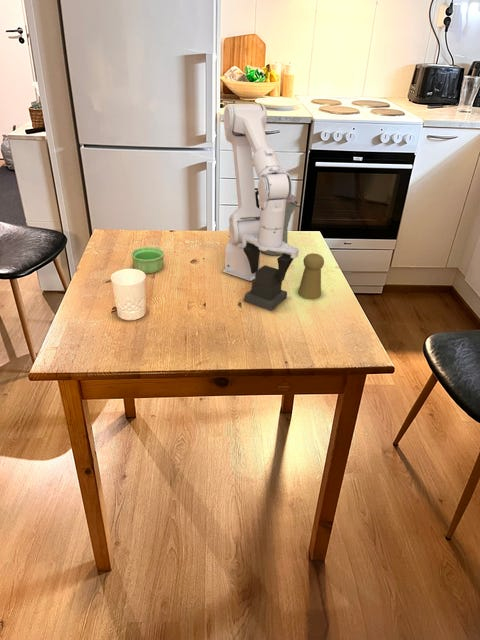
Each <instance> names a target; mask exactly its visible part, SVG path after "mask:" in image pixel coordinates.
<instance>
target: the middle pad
mask: <svg viewBox="0 0 480 640" xmlns="http://www.w3.org/2000/svg"><path fill="white" fill-rule="evenodd" d="M282 286H283V281H282V282H278V283H276V284H275V285H274V286H273V287H271V288H269V287H266V286H263V285H260V284H257V283H255V280H253V282H251V290H252V291H251V294H252V295H255V296H258V297H261V298H264V299H267V300H270V301H271V300H272V299H273V298H274V297H275V296H277V295H278V294H279V293H280V292H281V290H282V288H283V287H282Z"/></svg>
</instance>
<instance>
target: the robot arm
mask: <svg viewBox="0 0 480 640" xmlns="http://www.w3.org/2000/svg"><path fill="white" fill-rule="evenodd" d="M267 122H268V112H267V108H266V106H265V105H264V103H252V104H251V103H249V104H248V103H247V104H246V103H245V104H243V103H242V104H239V103H238V104H237V103H236V104H234V103H233V104H231V103H228V104H226V106H225V108H224V111H223V129H224V136H225V140H226V141H227V142H228V143H230V144H231V147H232V152H233V163H234V173H235V174H234V175H235V176H234V177H235V185H236V195H237V196H236V197H237V206H238V207H237V209H236V210H234V211H233V212H232V213H231V214H230V216H229V218H228V220H229V221H228V223H229V226H228V236H229V241H228V242H227V244H226V246H225V250H224V269H223V270H222V272H223V273H225V274H228V275H231V276H233V277H237V278H240V279H242V280H245V281H248V282H252V281H255V272H256V271H257V270H258V269H260V268H261V266H260V265H261V254H262V253H261V252H262V251H267V250H269V251H274V252H277V253H281V254H282V255H279V257H277V259H276V260H277V266H278V267H277V269H278V282H282V283H283V281H284V280H285V279H286V278H285V277H286V274H287V272H288V270H289V268H290V265H291V264H292V263H293V261H294V259H296V258H298V257H299V251H300V249H299V248H297V247H295V246H292V245H290V244H289V243H288V242H287V243H285V242H283V241H282V239H283V228H284V218H285V207H286V200H285V199H289V198H290V196H291V194H292V191H293V182H292V177H291V175H290V173H289V172H287V171H286V170H285V169H282V167H281V163H280V160H279V158H278V155H277V153H276V151H275V149H273V148H271V147H269V143H268V139H267V135H266V131H265V130H266V126H267ZM253 153H254V154H253ZM254 170H255V173H256V176H257V178H258V183H257V190H258V193H259V194H258V200H259V207H260V209H259V208H257V207H256V196H255V192H256V188H255V187H256V185H255V174H254ZM261 250H262V251H261Z"/></svg>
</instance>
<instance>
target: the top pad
mask: <svg viewBox="0 0 480 640" xmlns="http://www.w3.org/2000/svg"><path fill="white" fill-rule="evenodd" d="M254 281H255V283H257V284H260V285H263V286H266V287H269V288H271V287H273V286H274V285H275V284H276V283H278V268H275V267H273V266H269V265H263V266H260V269H258V270H257V271H256V272H255V279H254Z"/></svg>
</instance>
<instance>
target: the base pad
mask: <svg viewBox="0 0 480 640" xmlns="http://www.w3.org/2000/svg"><path fill="white" fill-rule="evenodd" d="M251 291H252V289H251V290H249V291H248V292H246V293H245V294H244V302H245V303H248V304H250V305H253V306H256V307H258V308H261V309H265V310H267V311H270V312H272V311H273V310H274V309H276V308H277V307H278V306H279V305H280V304H282V303H283V302H284V301H285V300H286V299H287V296H288V291H287V290H283V289H281V292H280V293H279V294H278V295H277V296H275V297H274V298H273V299H272V300H271V301H270V300H267V299H264V298H261V297H258V296H255V295H252V294H251Z"/></svg>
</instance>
